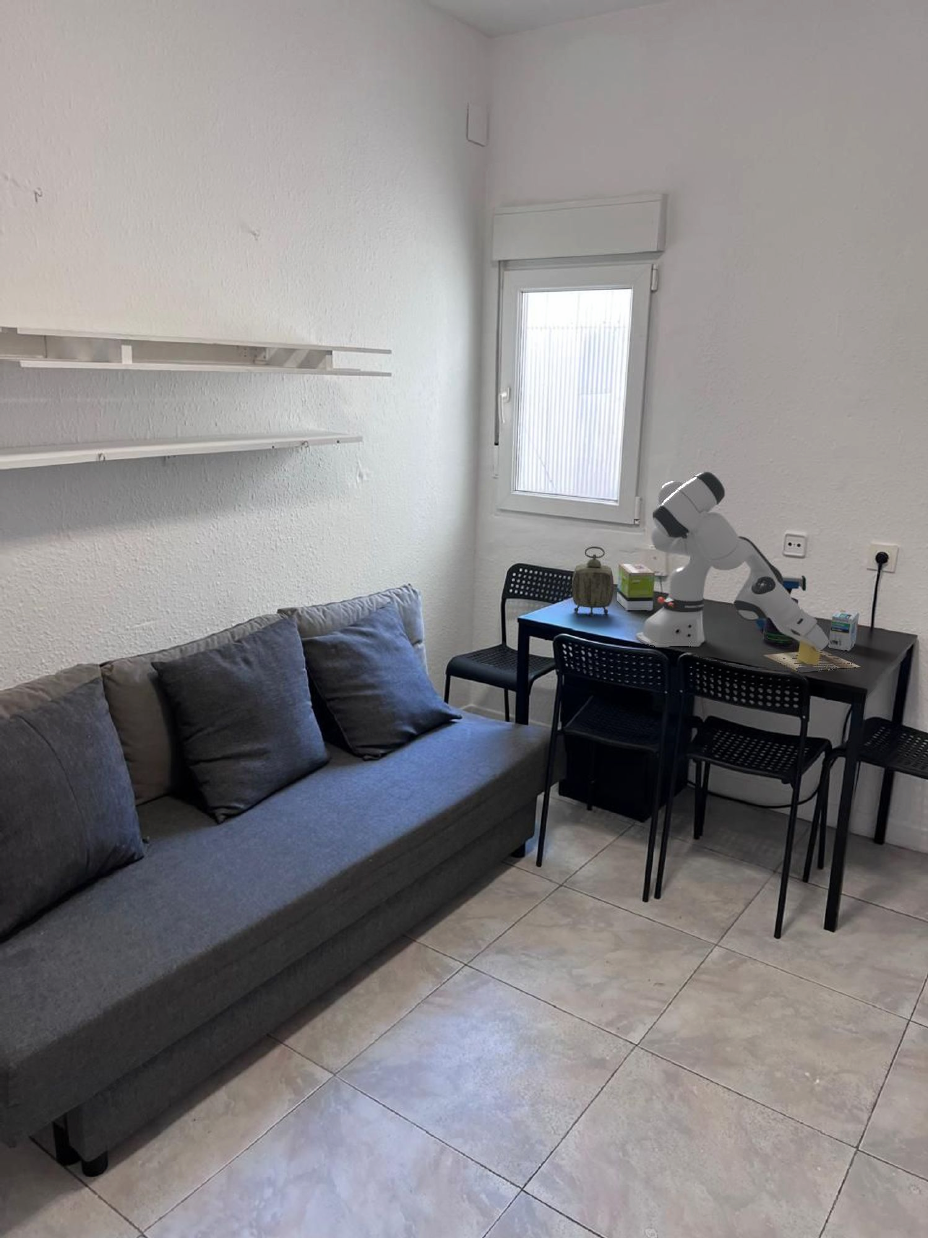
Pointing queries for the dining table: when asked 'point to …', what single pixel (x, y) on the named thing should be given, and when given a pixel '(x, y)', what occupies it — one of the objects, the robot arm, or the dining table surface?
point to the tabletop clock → (592, 584)
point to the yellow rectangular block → (808, 654)
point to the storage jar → (776, 634)
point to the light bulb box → (843, 630)
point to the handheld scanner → (788, 590)
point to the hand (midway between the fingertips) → (812, 647)
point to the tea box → (635, 586)
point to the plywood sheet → (790, 664)
